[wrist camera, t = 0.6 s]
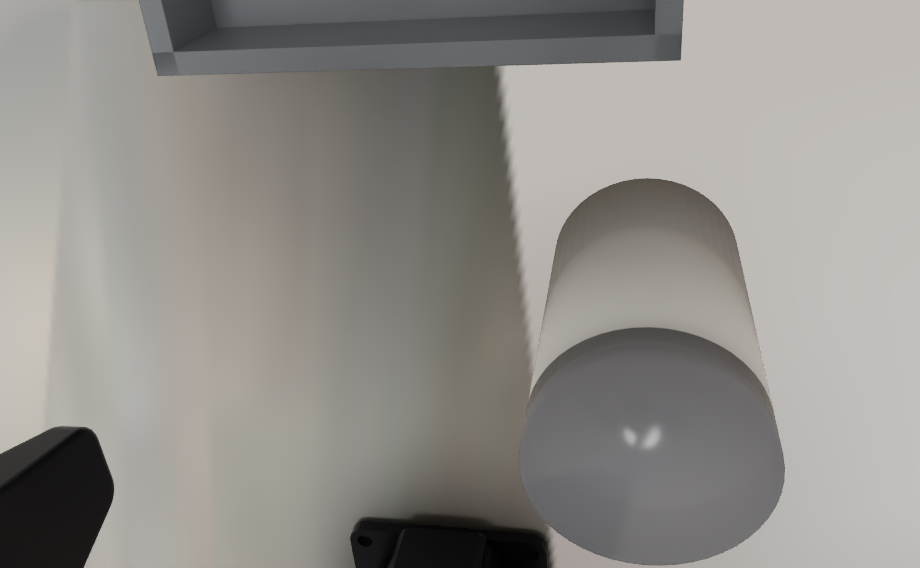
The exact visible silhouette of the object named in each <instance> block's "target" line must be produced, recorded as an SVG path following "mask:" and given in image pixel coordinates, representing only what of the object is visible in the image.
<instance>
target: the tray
mask: <svg viewBox="0 0 920 568" xmlns="http://www.w3.org/2000/svg"><path fill="white" fill-rule="evenodd" d="M139 3H140V7H141V11H142V15H143V19H144V23H145V27H146V31H147V35H148V38H149V42H150V46H151V50H152V54H153V58H154V62H155V66H156V70H157V74H158V76H173V75H206V74H239V73H273V72H306V71H339V70H372V69H405V68H439V67H472V66H505V65H538V64H571V63H605V62H637V61H670V60H681V42H682V40H681V39H682V21H683V0H139Z"/></svg>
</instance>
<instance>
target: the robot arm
mask: <svg viewBox="0 0 920 568" xmlns="http://www.w3.org/2000/svg"><path fill="white" fill-rule="evenodd" d="M113 495H114V483H113V479H112V476H111V473H110V470H109V468H108V465H107V462H106V460H105V457H104V454H103V451H102V449H101V446H100V443H99V440H98V438H97V436H96V434H95V433H94V432H93V431H92V430H91V429H89V428H86V427H68V426H60V427H54V428H52V429H49V430H47V431H45V432H43V433H41V434H39V435H37V436H35V437H33V438H32V439H29V440H28V441H25V442H23V443H21V444H19V445H17V446H15V447H13V448H12V449H9V450H7V451H6V452H3V453H2V454H0V568H84V565H85V563H86V561H87V558H88V556H89V554H90V552H91V549H92V547H93V545H94V543H95V540H96V538H97V536H98V533H99V531H100V529H101V527H102V524H103V522H104V520H105V517H106V515H107V513H108V511H109V508H110V506H111V503H112V500H113ZM365 536H368V537H369V538H368V537H365ZM350 540H351V546H352V551H353V556H354V561H355V566H356V568H549V560H548V545H547V542H546V541H545V540H544V538H542V537H540V536H539V535H535V534H528V533H515V532H502V531H489V530H476V529H463V528H450V527H437V526H424V525H411V524H398V523H385V522H372V521H361V522H359V523H357V524H356V525H355V526H354V528H353V531H352V534H351V538H350ZM528 549H534V550H536V551H531V550H528Z"/></svg>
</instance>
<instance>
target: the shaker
mask: <svg viewBox="0 0 920 568" xmlns="http://www.w3.org/2000/svg"><path fill="white" fill-rule="evenodd" d="M519 470H520V477H521V480H522V483H523V487H524V490H525V492H526V494H527V496H528V498H529V500H530V502H531V503H532V505H533V506H534V508H535V509H536V511H537V512H538V514H539V515H540V516H541V517H542V518H543V519H544V520H545V521H546V523H547V524H549V525H550V526H551V527H552V528H553V529H554V530H555V531H557V532H558V533H559V534H561V535H562V536H563V537H565V538H566V539H568V540H569V541H571V542H572V543H574V544H576V545H578V546H580V547H582V548H583V549H586V550H588V551H591V552H593V553H595V554H598V555H601V556H604V557H607V558H610V559H614V560H618V561H622V562H627V563H634V564H642V565H676V564H683V563H689V562H695V561H699V560H703V559H707V558H710V557H712V556H715V555H718V554H720V553H723V552H725V551H727V550H729V549H731V548H733V547H735V546H737V545H738V544H740V543H741V542H743V541H744V540H746V539H747V538H749V537H750V536H751V535H752V534H753V533H755V532H756V531H757V530H758V529H759V528H760V527H761V526H762V525H763V524H764V522H765V521H766V520H767V519H768V518H769V516H770V515H771V513H772V512H773V510H774V509H775V507H776V505H777V502H778V500H779V498H780V495H781V492H782V488H783V484H784V472H785V467H784V459H783V452H782V448H781V443H780V439H779V434H778V429H777V425H776V421H775V416H774V411H773V407H772V402H771V398H770V393H769V389H768V384H767V379H766V375H765V370H764V366H763V361H762V357H761V352H760V348H759V343H758V339H757V334H756V329H755V325H754V321H753V316H752V312H751V307H750V303H749V298H748V293H747V289H746V284H745V280H744V275H743V270H742V266H741V262H740V257H739V252H738V248H737V243H736V240H735V236H734V233H733V230H732V228H731V226H730V225H729V222H728V221H727V219H726V218H725V216H724V215H723V213H722V212H721V211H720V210H719V209H718V207H717V206H716V205H715V204H714V203H712V202H711V201H710V200H709V199H708V198H706V197H705V196H704V195H702V194H700V193H699V192H697V191H695V190H693V189H691V188H689V187H687V186H685V185H682V184H679V183H675V182H672V181H667V180H661V179H634V180H628V181H623V182H619V183H616V184H613V185H610V186H608V187H606V188H603V189H601V190H599V191H598V192H596V193H594V194H592V195H591V196H589V197H588V198H587V199H586V200H584V201H583V202H582V203H581V204H579V206H578V207H577V208H576V209H575V210H574V211H573V212H572V213H571V215H570V216H569V217H568V219H567V220H566V222H565V224H564V226H563V227H562V229H561V232H560V235H559V237H558V240H557V245H556V250H555V256H554V261H553V267H552V272H551V278H550V284H549V289H548V295H547V300H546V306H545V311H544V317H543V323H542V328H541V334H540V340H539V345H538V350H537V356H536V362H535V367H534V373H533V378H532V384H531V389H530V395H529V401H528V406H527V412H526V417H525V423H524V428H523V434H522V440H521V445H520V451H519Z"/></svg>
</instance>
